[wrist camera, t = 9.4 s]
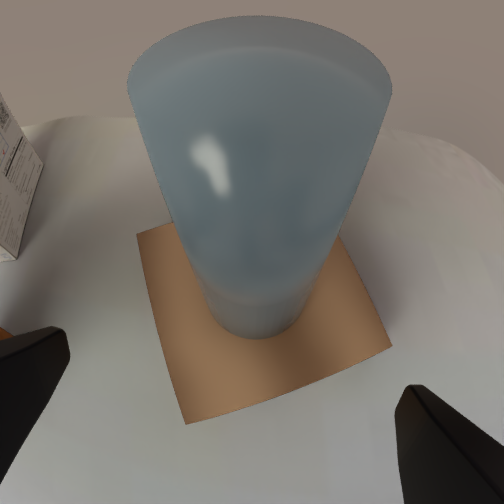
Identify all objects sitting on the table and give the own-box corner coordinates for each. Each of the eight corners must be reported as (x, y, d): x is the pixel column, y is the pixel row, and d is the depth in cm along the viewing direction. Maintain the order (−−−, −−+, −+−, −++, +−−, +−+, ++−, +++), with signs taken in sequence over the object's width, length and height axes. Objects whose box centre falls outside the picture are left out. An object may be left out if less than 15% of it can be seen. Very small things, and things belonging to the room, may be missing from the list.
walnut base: (196, 422, 16) (185, 424, 13) (150, 256, 21) (136, 234, 18) (373, 355, 18) (392, 346, 15) (303, 209, 22) (309, 182, 20)
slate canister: (255, 361, 15) (263, 206, 4) (185, 289, 17) (88, 74, 5) (326, 289, 16) (428, 78, 5) (256, 228, 18) (258, 4, 7)
